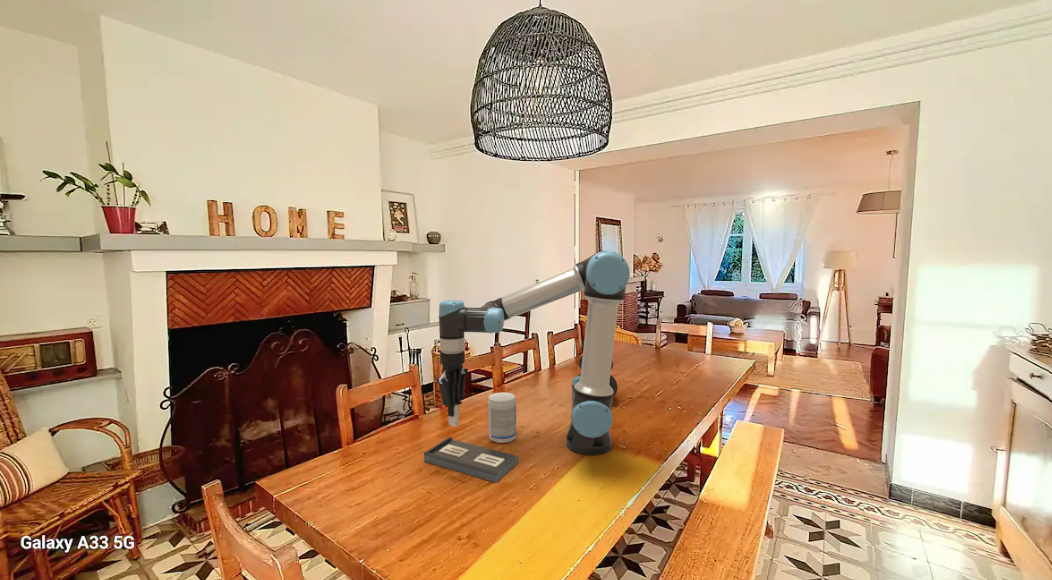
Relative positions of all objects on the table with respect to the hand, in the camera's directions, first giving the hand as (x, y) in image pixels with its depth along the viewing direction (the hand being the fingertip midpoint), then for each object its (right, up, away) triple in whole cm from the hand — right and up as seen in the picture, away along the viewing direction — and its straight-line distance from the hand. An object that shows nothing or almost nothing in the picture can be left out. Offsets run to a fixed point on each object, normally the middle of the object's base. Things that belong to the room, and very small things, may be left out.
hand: (453, 424), depth 136 cm
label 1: (0, -8, +1) cm, 9 cm away
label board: (+6, -11, -2) cm, 12 cm away
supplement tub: (+14, -9, +15) cm, 23 cm away
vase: (+52, -6, +49) cm, 72 cm away
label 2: (+11, -9, -5) cm, 16 cm away
